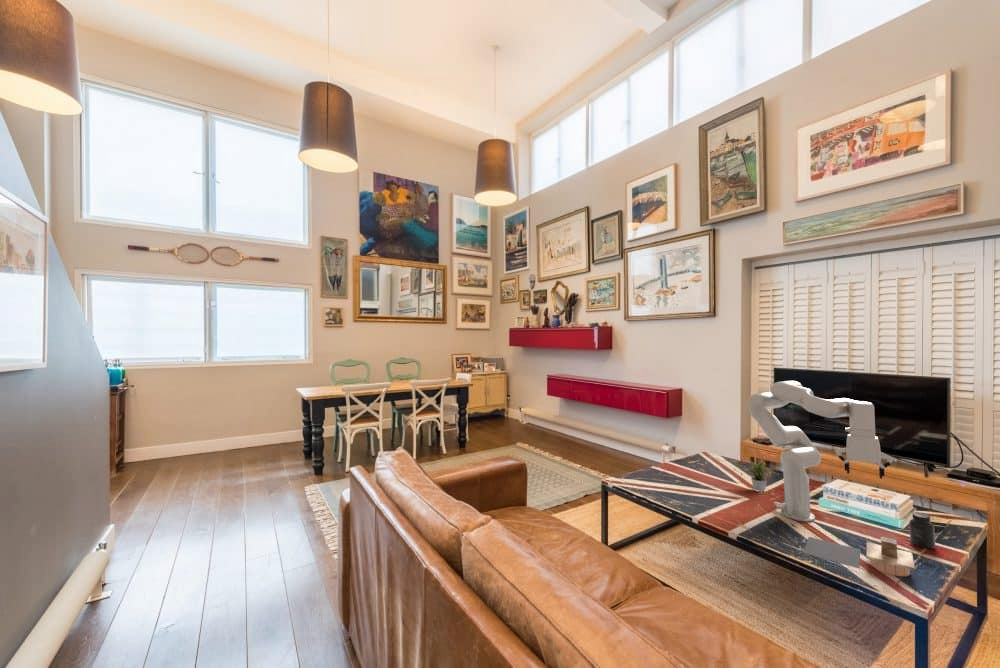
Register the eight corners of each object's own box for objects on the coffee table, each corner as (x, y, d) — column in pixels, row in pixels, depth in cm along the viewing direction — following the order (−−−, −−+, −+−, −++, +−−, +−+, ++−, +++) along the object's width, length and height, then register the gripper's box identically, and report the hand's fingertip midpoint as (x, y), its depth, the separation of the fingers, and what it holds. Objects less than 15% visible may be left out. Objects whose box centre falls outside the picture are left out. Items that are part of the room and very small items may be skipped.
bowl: (871, 571, 142) (870, 557, 142) (871, 559, 149) (870, 546, 149) (911, 582, 135) (910, 568, 135) (909, 569, 143) (908, 555, 143)
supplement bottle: (940, 550, 153) (939, 519, 153) (920, 549, 155) (918, 518, 155) (925, 540, 160) (923, 511, 160) (905, 540, 161) (904, 510, 161)
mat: (804, 555, 154) (804, 553, 154) (808, 539, 165) (808, 536, 165) (859, 571, 143) (859, 568, 143) (860, 552, 154) (860, 549, 154)
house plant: (747, 482, 227) (745, 454, 227) (776, 488, 218) (774, 458, 218) (740, 490, 217) (739, 460, 217) (771, 496, 207) (769, 465, 207)
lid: (866, 557, 142) (865, 541, 142) (866, 544, 151) (866, 528, 151) (914, 570, 134) (914, 553, 134) (912, 555, 143) (911, 538, 143)
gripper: (833, 431, 162) (835, 473, 162) (893, 437, 150) (895, 482, 150) (834, 427, 168) (836, 468, 168) (892, 433, 156) (894, 477, 156)
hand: (864, 475), depth 159 cm, fingers open, 9 cm apart
